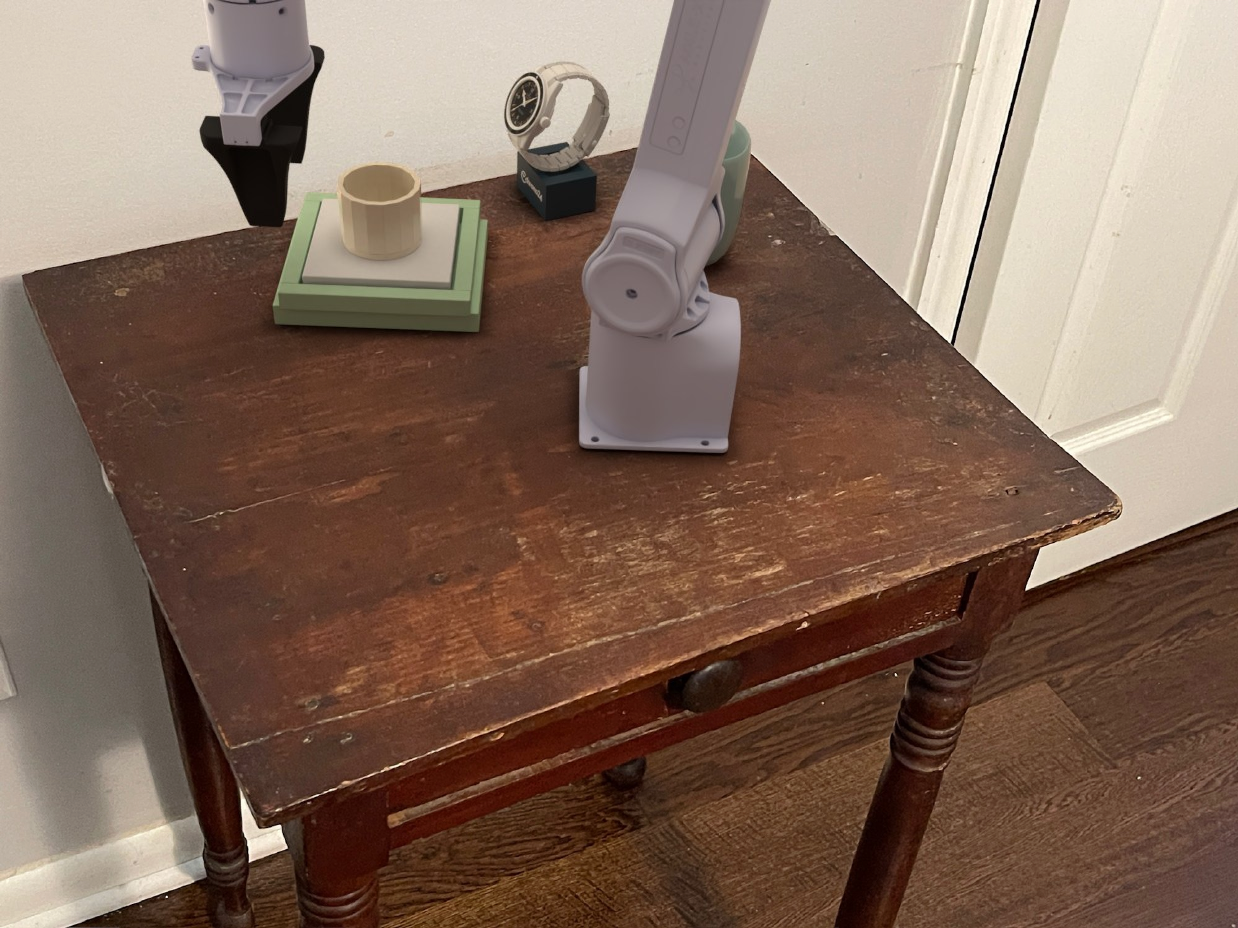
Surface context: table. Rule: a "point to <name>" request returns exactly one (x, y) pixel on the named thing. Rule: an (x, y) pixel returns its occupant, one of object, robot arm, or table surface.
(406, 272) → the pan
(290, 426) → the table surface
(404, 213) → the cylindrical container
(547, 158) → the watch
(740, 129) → the cup
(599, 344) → the robot arm
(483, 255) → the scale
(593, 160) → the table surface
